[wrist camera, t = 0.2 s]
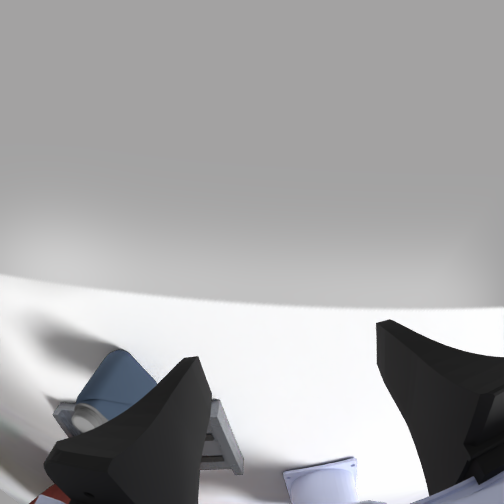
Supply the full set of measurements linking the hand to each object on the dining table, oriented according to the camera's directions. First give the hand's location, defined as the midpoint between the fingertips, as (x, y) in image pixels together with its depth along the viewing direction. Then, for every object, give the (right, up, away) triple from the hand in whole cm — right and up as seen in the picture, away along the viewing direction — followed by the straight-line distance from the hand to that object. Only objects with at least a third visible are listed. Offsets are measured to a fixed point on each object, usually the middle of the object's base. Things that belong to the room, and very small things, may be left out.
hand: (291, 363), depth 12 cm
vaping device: (-12, -6, +12) cm, 18 cm away
